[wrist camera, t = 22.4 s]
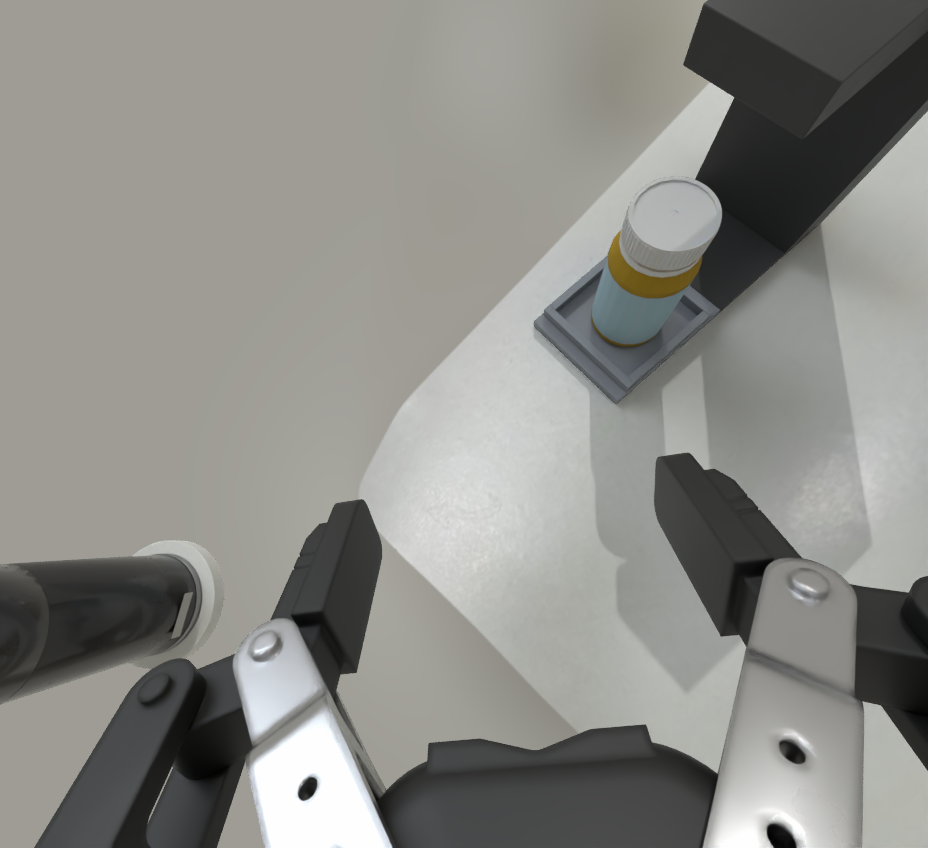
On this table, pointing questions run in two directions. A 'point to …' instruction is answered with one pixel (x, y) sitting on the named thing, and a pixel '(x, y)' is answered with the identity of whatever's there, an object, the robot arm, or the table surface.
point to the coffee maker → (771, 151)
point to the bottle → (654, 258)
